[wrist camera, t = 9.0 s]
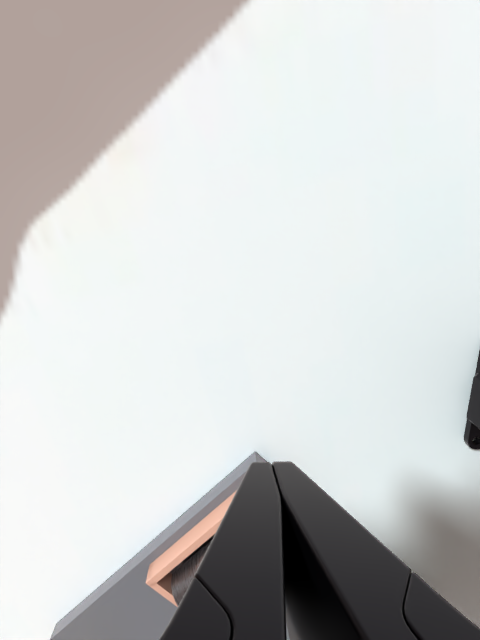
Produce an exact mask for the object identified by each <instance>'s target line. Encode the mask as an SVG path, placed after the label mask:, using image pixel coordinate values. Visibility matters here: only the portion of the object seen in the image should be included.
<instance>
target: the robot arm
mask: <svg viewBox="0 0 480 640" xmlns="http://www.w3.org/2000/svg"><path fill="white" fill-rule="evenodd" d="M475 437H477V438H476V439H475V440H474V441H472V440H473V439H474V438H475ZM464 441H465V443H466V444H467V445H468V446H469V447H471V448H473V449H480V351H479V357H478V362H477V368H476V373H475V376H474V378H473V384H472V389H471V395H470V400H469V406H468V411H467V423H466V428H465V434H464ZM286 625H287V629H288V634H289V638H290V640H480V628H478V627H477V626H476V625H475V624H473V623H472V622H471V621H470V620H468V619H467V618H466V617H465V616H463V615H462V614H461V613H460V612H459V611H458V610H456V609H455V608H454V607H453V606H452V605H451V604H449V603H448V602H447V601H446V600H445V599H444V598H443V597H441V596H440V595H439V594H438V593H437V592H436V591H434V590H433V589H432V588H431V587H430V586H429V585H428V584H427V583H426V582H424V581H423V580H422V579H421V578H420V577H419V576H418V575H417V574H416V573H411V569H410V568H409V567H408V566H406V565H405V564H404V563H403V562H402V561H401V560H400V559H399V558H398V557H397V556H395V555H394V554H393V553H392V552H391V551H390V550H389V549H388V548H387V547H385V546H384V545H383V544H382V543H381V542H380V541H379V540H378V539H377V538H376V537H374V536H373V535H372V534H371V533H370V532H369V531H368V530H367V529H366V528H364V527H363V526H362V525H361V524H360V523H359V522H358V521H357V520H356V519H354V518H353V517H352V516H351V515H350V514H349V513H348V512H347V511H346V510H345V509H343V508H342V507H341V506H340V505H339V504H338V503H337V502H336V501H335V500H333V499H332V498H331V497H330V496H329V495H328V494H327V493H326V492H325V491H324V490H322V489H321V488H320V487H319V486H318V485H317V484H316V483H315V482H314V481H312V480H311V479H310V478H309V477H308V476H307V475H306V474H305V473H304V472H303V471H301V470H300V469H299V468H298V467H297V466H296V465H295V464H294V463H292V462H273V463H272V465H271V463H270V462H252V463H251V464H250V465H249V467H248V469H247V471H246V473H245V475H244V477H243V479H242V481H241V483H240V485H239V487H238V489H237V491H236V493H235V495H234V497H233V499H232V501H231V503H230V505H229V507H228V509H227V511H226V513H225V515H224V517H223V519H222V521H221V523H220V525H219V527H218V529H217V531H216V533H215V535H214V537H213V539H212V541H211V543H210V545H209V547H208V549H207V551H206V553H205V555H204V557H203V559H202V561H201V563H200V565H199V567H198V569H197V571H196V573H195V575H194V578H193V579H192V580H191V582H190V584H189V586H188V588H187V590H186V592H185V594H184V596H183V598H182V600H181V602H180V604H179V606H178V607H177V609H176V611H175V613H174V615H173V617H172V618H171V620H170V622H169V624H168V626H167V627H166V629H165V630H164V632H163V634H162V635H161V637H160V638H159V640H287V636H286Z"/></svg>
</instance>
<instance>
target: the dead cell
mask: <svg viewBox="0 0 480 640" xmlns="http://www.w3.org/2000/svg"><path fill="white" fill-rule="evenodd" d="M211 541H212V540H211ZM211 541H209V542H208V543H207V544H206V545H205V546H203V547H202V548H201V549H200V550H199V551H198V552H196V553H195V554H194V555H193V556H192V557H190V558H189V559H188V560H187V561H186V562H184V563H183V564H182V565H181V566H180V567H179V568H177V569H176V570H175V571H174V573H173V575H172V578H171V589H172V594H173V597H174V600H175V602H176V604H177V606H179V604H180V602H181V600H182V598H183V596H184V594H185V592H186V590H187V588H188V586H189V584H190V582H191V580H192V579H193V578H194V575H195V573H196V571H197V569H198V567H199V565H200V563H201V561H202V559H203V557H204V555H205V553H206V551H207V549H208V547H209V545H210V543H211Z"/></svg>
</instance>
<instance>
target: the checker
mask: <svg viewBox="0 0 480 640" xmlns="http://www.w3.org/2000/svg"><path fill="white" fill-rule="evenodd" d="M252 462H266V461H265V460H264V459H263V458H262V457H261V456H260V455H258V454H257V453H256V452H254V453H253V454H252V455H251V456H249V457H248V458H247V459H246V460H245V461H244V462H242V463H241V464H240V465H239V466H238V467H237V468H236V469H234V470H233V471H232V472H231V473H230V474H229V475H227V476H226V477H225V478H224V479H223V480H222V481H221V482H219V483H218V484H217V485H216V486H215V487H214V488H212V489H211V490H210V491H209V492H208V493H207V494H206V495H204V496H203V497H202V498H201V499H200V500H199V501H197V502H196V503H195V504H194V505H193V506H192V507H191V508H189V509H188V510H187V511H186V512H185V513H184V514H182V515H181V516H180V517H179V518H178V519H177V520H176V521H174V522H173V523H172V524H171V525H170V526H169V527H167V528H166V529H165V530H164V531H163V532H162V533H161V534H159V535H158V536H157V537H156V538H155V539H154V540H152V541H151V542H150V543H149V544H148V545H147V546H145V547H144V548H143V549H142V550H141V551H140V552H139V553H137V554H136V555H135V556H134V557H133V558H132V559H130V560H129V561H128V562H127V563H126V564H125V565H124V566H122V567H121V568H120V569H119V570H118V571H117V572H115V573H114V574H113V575H112V576H111V577H110V578H109V579H107V580H106V581H105V582H104V583H103V584H102V585H100V586H99V587H98V588H97V589H96V590H95V591H94V592H92V593H91V594H90V595H89V596H88V597H87V598H85V599H84V600H83V601H82V602H81V603H80V604H79V605H77V606H76V607H75V608H74V609H73V610H72V611H70V612H69V613H68V614H67V615H66V616H65V617H64V618H62V619H61V620H60V621H59V622H58V623H57V624H56V626H55V628H54V631H53V633H52V636H51V638H50V640H159V638H160V637H161V635H162V634H163V632H164V630H165V629H166V627H167V626H168V624H169V622H170V620H171V618H172V617H173V615H174V613H175V611H176V609H177V607H178V606H177V604H176V602H175V600H174V597H173V594H172V589H171V578H172V575H173V573H174V571H175V570H176V569H177V568H179V567H180V566H181V565H182V564H183V563H184V562H186V561H187V560H188V559H189V558H190V557H192V556H193V555H194V554H195V553H196V552H198V551H199V550H200V549H201V548H202V547H203V546H205V545H206V544H207V543H208V542H209V541H211V540H212V539H213V537H214V535H215V533H216V531H217V529H218V527H219V525H220V523H221V521H222V519H223V517H224V515H225V513H226V511H227V509H228V507H229V505H230V503H231V501H232V499H233V497H234V495H235V493H236V491H237V489H238V487H239V485H240V483H241V481H242V479H243V477H244V475H245V473H246V471H247V469H248V467H249V465H250V464H251V463H252ZM286 636H287V640H290V638H289V634H288V629H287V625H286Z"/></svg>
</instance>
